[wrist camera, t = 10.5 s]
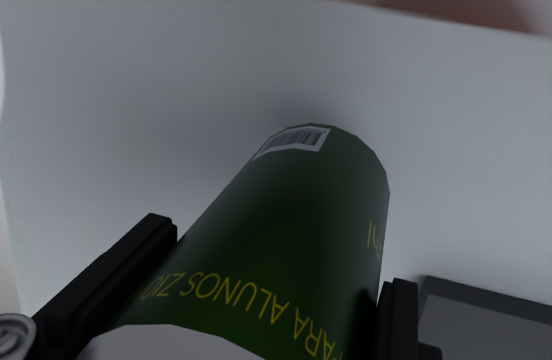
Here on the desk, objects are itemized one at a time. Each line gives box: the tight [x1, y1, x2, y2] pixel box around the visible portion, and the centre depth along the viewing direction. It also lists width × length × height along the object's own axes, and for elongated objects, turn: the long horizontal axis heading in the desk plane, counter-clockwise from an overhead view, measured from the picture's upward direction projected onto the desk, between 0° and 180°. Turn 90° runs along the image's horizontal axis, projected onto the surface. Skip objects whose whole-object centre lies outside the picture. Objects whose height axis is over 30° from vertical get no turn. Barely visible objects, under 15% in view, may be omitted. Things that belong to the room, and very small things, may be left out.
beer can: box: [74, 123, 390, 360], centre depth 12 cm, size 5×5×12 cm
